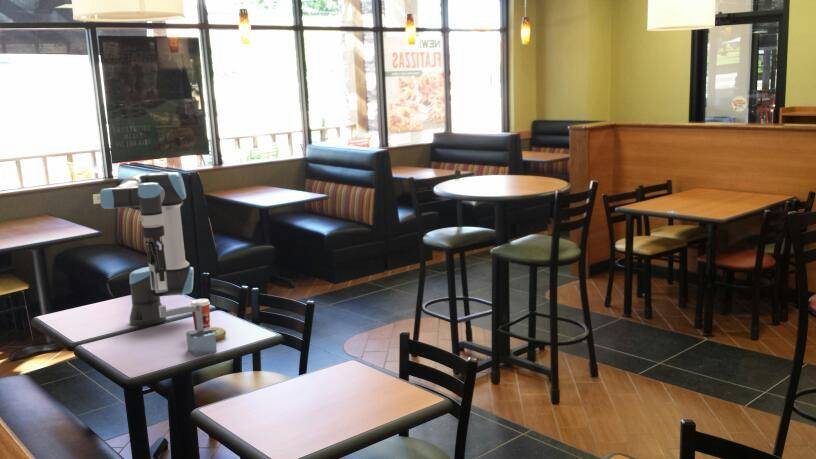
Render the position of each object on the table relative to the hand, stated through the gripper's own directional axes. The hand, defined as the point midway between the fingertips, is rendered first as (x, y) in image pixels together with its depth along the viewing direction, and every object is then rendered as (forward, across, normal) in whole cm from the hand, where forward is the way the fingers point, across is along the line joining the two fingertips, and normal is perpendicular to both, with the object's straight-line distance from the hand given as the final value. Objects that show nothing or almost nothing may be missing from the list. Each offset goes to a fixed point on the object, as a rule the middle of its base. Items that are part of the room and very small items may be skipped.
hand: (159, 287), depth 269 cm
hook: (+1, 0, 0) cm, 1 cm away
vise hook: (+27, +2, +8) cm, 28 cm away
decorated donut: (+27, -10, +21) cm, 36 cm away
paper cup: (+27, -18, +21) cm, 39 cm away
